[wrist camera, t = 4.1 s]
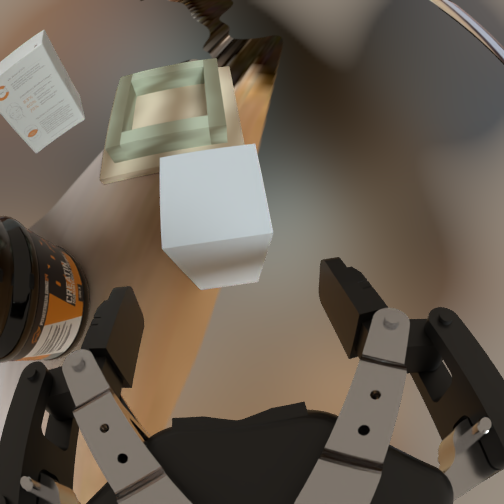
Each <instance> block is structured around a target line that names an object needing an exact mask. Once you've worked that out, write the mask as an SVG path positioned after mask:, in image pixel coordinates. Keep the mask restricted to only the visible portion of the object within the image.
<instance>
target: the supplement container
mask: <svg viewBox="0 0 504 504" xmlns="http://www.w3.org/2000/svg"><path fill="white" fill-rule="evenodd" d="M89 306H90V302H89V290H88V285H87V281H86V278H85V275H84V273H83V270H82V268H81V267H80V265H79V263H78V262H77V260H76V259H75V258H74V257H73V256H72V255H71V254H70V253H69V252H67V251H66V250H64V249H63V248H61V247H59V246H55V245H54V244H52V243H50V242H48V241H47V240H45V239H43V238H41V237H40V236H38V235H36V234H35V233H33V232H31V231H30V230H28V229H26V228H25V227H24V226H23V225H22V224H21V223H20V222H18V221H17V220H15V219H13V218H11V217H7V216H0V363H3V362H7V361H24V360H55V359H59V358H61V357H63V356H65V355H67V354H68V353H70V352H71V351H72V350H73V349H74V348H75V347H76V345H77V344H78V343H79V341H80V340H81V338H82V336H83V333H84V331H85V328H86V325H87V321H88V316H89Z"/></svg>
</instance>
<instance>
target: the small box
mask: <svg viewBox="0 0 504 504" xmlns="http://www.w3.org/2000/svg"><path fill="white" fill-rule="evenodd" d="M0 114H1V115H2V116H3V117H4V118H5V119H6V121H7V122H8V123H9V124H10V125H11V127H12V128H13V129H14V130H15V131H16V132H17V133H18V134H19V136H20V137H21V138H22V139H23V140H24V141H25V142H26V143H27V144H28V145H29V147H30V148H31V149H32V150H33V151H34V152H35V153H38V152H39V151H41V150H42V149H43V148H44V147H46V146H47V145H48V144H50V143H51V142H52V141H54V140H55V139H56V138H58V137H59V136H61V135H62V134H64V133H65V132H66V131H68V130H69V129H71V128H72V127H74V126H75V125H77V124H78V123H80V122H82V121H83V120H85V116H84V112H83V108H82V104H81V99H80V95H79V93H78V91H77V90H76V88H75V86H74V84H73V83H72V81H71V79H70V77H69V75H68V73H67V72H66V70H65V68H64V66H63V64H62V63H61V61H60V59H59V57H58V55H57V53H56V52H55V50H54V47H53V46H52V43H51V41H50V40H49V38H48V36H47V34H46V32H45V30H43V31H41V32H40V33H38V34H37V35H35V36H34V37H32V38H31V39H29V40H28V41H27V42H25V43H24V44H23V45H21V46H20V47H19V48H17V49H16V50H15V51H13V52H12V53H11V54H10V55H9V56H7V57H6V58H5V59H3V60H2V61H1V62H0Z"/></svg>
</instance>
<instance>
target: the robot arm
mask: <svg viewBox="0 0 504 504" xmlns="http://www.w3.org/2000/svg"><path fill="white" fill-rule="evenodd" d="M319 297H320V301H321V304H322V306H323V308H324V310H325V312H326V313H327V316H328V318H329V320H330V322H331V324H332V326H333V328H334V329H335V332H336V333H337V335H338V338H339V339H340V342H341V344H342V346H343V348H344V350H345V352H346V354H347V356H348V358H349V359H351V358H354V357H359V359H360V361H359V364H358V367H357V370H356V373H355V376H354V378H353V381H352V384H351V386H350V389H349V392H348V395H347V397H346V399H345V402H344V404H343V407H342V409H341V412H340V414H339V416H337V415H334V414H331V413H328V412H324V411H318V410H307V409H306V406H305V402H300V403H296V404H291V405H286V406H281V407H275V408H271V409H269V410H266V411H263V412H261V413H258V414H256V415H253V416H250V417H248V418H245V419H242V420H227V419H218V418H211V417H188V418H173V419H172V427H170V428H167V429H164V430H162V431H160V432H158V433H156V434H154V435H153V436H150V435H149V434H148V433H147V431H146V430H145V429H144V427H143V426H142V425H141V423H140V422H139V421H138V419H137V418H136V416H135V415H134V413H133V412H132V410H131V409H130V407H129V406H128V404H127V403H126V401H125V400H124V398H123V397H122V395H121V389H122V388H132V383H133V378H134V372H135V367H136V362H137V357H138V352H139V347H140V343H141V338H142V334H143V329H144V318H143V314H142V312H141V309H140V307H139V304H138V302H137V299H136V297H135V294H134V291H133V289H132V288H131V287H130V286H126V287H118V288H113V290H112V292H111V294H110V296H109V299H108V300H106V301H104V302H103V303H102V304H101V305H100V306H99V307H98V308H97V311H96V313H95V315H94V319H93V320H92V322H91V326H90V327H89V329H88V332H87V334H86V337H85V339H84V342H83V344H82V347H81V349H80V350H76V351H74V352H72V353H71V354H69V355H68V356H67V357H66V359H65V360H64V362H63V366H62V367H58V368H55V369H51V370H48V369H47V368H46V367H45V365H44V364H43V363H41V362H33V363H31V364H29V365H28V366H27V367H26V368H25V369H24V370H23V372H22V374H21V376H20V379H19V382H18V384H17V387H16V390H15V393H14V396H13V399H12V402H11V405H10V408H9V411H8V414H7V418H6V421H5V425H4V429H3V432H2V436H1V441H0V504H81V503H80V502H79V501H78V499H77V497H76V495H75V493H74V492H73V476H74V464H75V455H76V447H77V439H78V432H79V428H80V430H81V432H82V435H83V437H84V439H85V441H86V443H87V445H88V447H89V449H90V451H91V453H92V455H93V457H94V458H95V460H96V462H97V464H98V466H99V467H100V469H101V471H102V473H103V474H104V476H105V478H106V479H107V481H108V482H107V483H106V484H105V485H104V486H103V487H102V488H101V489H100V490H99V491H98V492H97V493H96V494H95V495H94V496H93V497H92V498H91V499H90V500H89V501H88V502H87V503H86V504H453V501H454V500H456V499H457V498H459V497H460V496H462V495H464V494H465V493H466V492H468V491H470V490H471V489H472V488H474V487H475V486H477V485H478V484H480V483H481V482H483V481H485V480H487V479H488V478H490V477H492V476H494V475H495V474H497V473H498V472H500V471H502V470H503V469H504V380H503V378H502V376H501V375H500V373H499V372H498V370H497V369H496V367H495V366H494V364H493V363H492V361H491V360H490V359H489V357H488V355H487V354H486V353H485V351H484V350H483V348H482V347H481V346H480V344H479V343H478V342H477V340H476V339H475V337H474V336H473V335H472V333H471V332H470V331H469V330H468V328H467V327H466V326H465V324H464V323H463V322H462V320H461V319H460V318H459V317H458V315H457V314H456V313H454V312H453V311H452V310H450V309H447V308H442V307H438V308H435V309H433V310H431V312H430V313H429V316H428V318H427V319H408V317H407V315H406V314H405V313H403V312H402V311H400V310H397V309H394V308H388V306H387V305H386V304H385V302H384V301H383V300H382V299H381V297H380V296H379V295H378V293H377V292H376V291H375V289H374V288H373V287H372V286H371V284H370V283H369V282H368V281H367V279H366V278H365V277H364V275H363V274H362V273H361V272H359V271H358V270H356V269H355V268H353V267H346V265H345V264H344V263H343V261H342V260H341V259H340V258H339V257H336V258H330V259H323V260H321V263H320V278H319ZM442 360H444V362H445V363H446V365H447V367H448V368H449V370H450V372H451V374H452V377H451V375H450V374H449V372H448V370H447V368H446V367H445V365H444V364H443V362H442ZM406 373H410V374H411V376H412V378H413V380H414V382H415V384H416V386H417V388H418V390H419V392H420V394H421V396H422V398H423V400H424V402H425V404H426V406H427V408H428V410H429V413H430V415H431V417H432V419H433V421H434V423H435V425H436V428H437V430H438V432H439V434H440V436H441V439H442V441H441V443H440V445H439V449H438V462H439V464H440V466H439V469H438V468H436V467H434V466H432V465H430V464H428V463H425V462H423V461H421V460H419V459H417V458H415V457H413V456H411V455H409V454H407V453H405V452H403V451H401V450H399V449H397V448H395V447H393V446H391V445H389V443H390V440H391V437H392V433H393V429H394V426H395V422H396V419H397V414H398V410H399V407H400V402H401V398H402V393H403V388H404V383H405V378H406ZM45 410H46V411H47V412H48V413H49V419H48V423H47V428H46V432H45V436H44V435H43V433H42V429H41V425H42V420H43V416H44V412H45Z"/></svg>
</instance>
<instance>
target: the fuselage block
mask: <svg viewBox="0 0 504 504" xmlns="http://www.w3.org/2000/svg"><path fill="white" fill-rule="evenodd" d="M160 219H161V240H162V249H163V251H164V252H165V253H166V254H167V255H168V256H169V257H170V258H171V259H172V260H173V261H174V262H175V264H176V265H177V266H178V267H179V268H180V269H181V270H182V271H183V272H184V273H185V274H186V275H187V276H188V277H189V278H190V279H191V280H192V281H193V282H194V283H195V284H196V286H197V287H198V288H199V289H200V290H203V289H211V288H218V287H225V286H232V285H238V284H246V283H252V282H258V280H259V277H260V274H261V271H262V267H263V264H264V261H265V258H266V255H267V252H268V248H269V245H270V242H271V239H272V236H273V229H272V224H271V219H270V214H269V208H268V204H267V199H266V194H265V189H264V184H263V179H262V174H261V169H260V165H259V160H258V155H257V151H256V146H255V144H249V145H240V146H231V147H223V148H216V149H209V150H202V151H195V152H189V153H183V154H177V155H172V156H166V157H161V158H160Z"/></svg>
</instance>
